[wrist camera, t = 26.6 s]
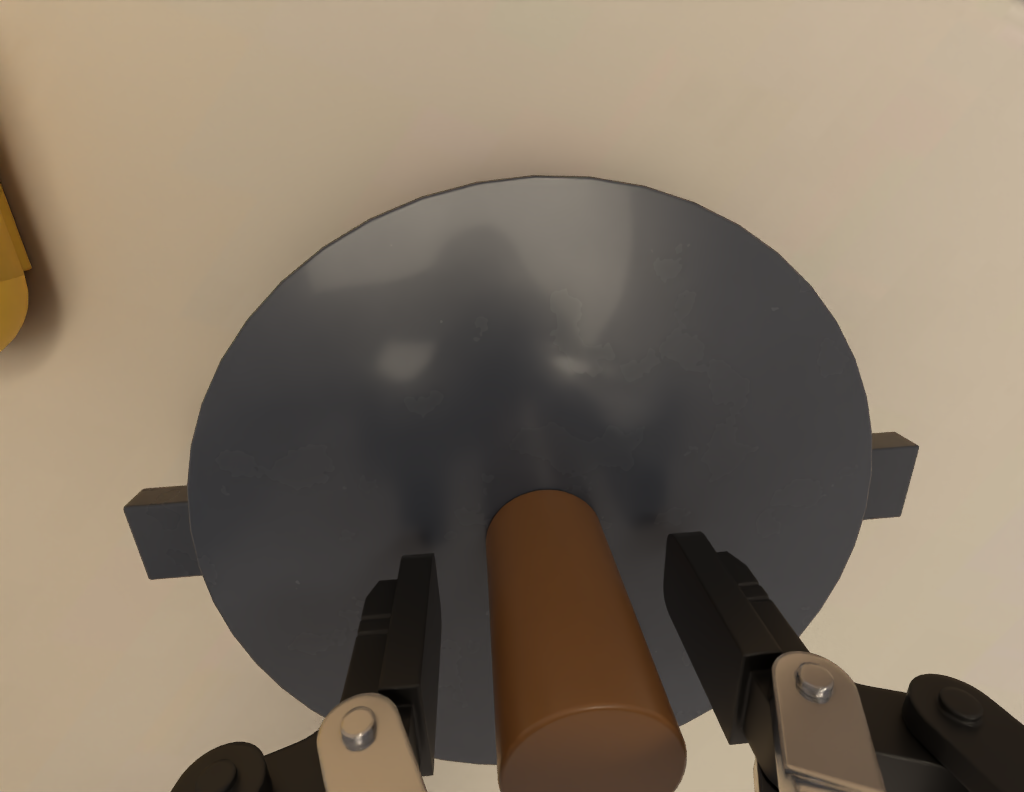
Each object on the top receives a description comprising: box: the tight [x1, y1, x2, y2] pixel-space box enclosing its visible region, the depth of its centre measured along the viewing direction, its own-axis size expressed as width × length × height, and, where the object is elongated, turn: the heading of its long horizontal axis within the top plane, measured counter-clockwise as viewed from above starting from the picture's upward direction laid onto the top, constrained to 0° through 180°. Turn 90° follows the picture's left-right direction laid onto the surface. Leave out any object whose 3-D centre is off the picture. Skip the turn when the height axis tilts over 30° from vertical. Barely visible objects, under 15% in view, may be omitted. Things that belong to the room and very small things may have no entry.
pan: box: [124, 432, 919, 580], centre depth 17 cm, size 16×22×6 cm
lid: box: [187, 175, 872, 792], centre depth 12 cm, size 17×17×7 cm
